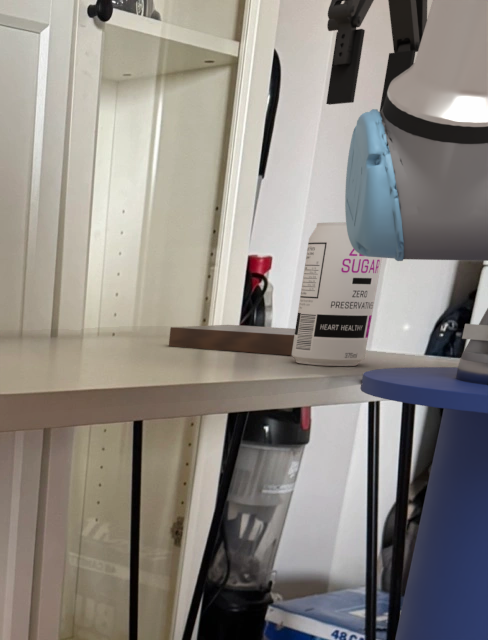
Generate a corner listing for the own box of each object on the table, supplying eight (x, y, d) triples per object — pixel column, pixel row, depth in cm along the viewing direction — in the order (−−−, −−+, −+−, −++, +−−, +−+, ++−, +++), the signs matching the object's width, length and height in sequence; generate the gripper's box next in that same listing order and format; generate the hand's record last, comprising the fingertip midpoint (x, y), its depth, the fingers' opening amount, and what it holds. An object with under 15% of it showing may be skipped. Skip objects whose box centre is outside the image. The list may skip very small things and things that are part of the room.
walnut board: (354, 351, 142) (357, 332, 141) (301, 356, 132) (305, 335, 131) (226, 342, 155) (228, 324, 154) (168, 346, 144) (170, 327, 143)
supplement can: (309, 359, 127) (330, 225, 121) (374, 364, 122) (400, 225, 116) (277, 362, 122) (298, 222, 116) (344, 368, 117) (369, 221, 111)
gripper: (414, -88, 116) (379, 126, 125) (315, -154, 100) (282, 99, 108) (484, -102, 112) (442, 121, 120) (392, -174, 95) (351, 92, 103)
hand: (366, 111), depth 114 cm, fingers open, 13 cm apart
